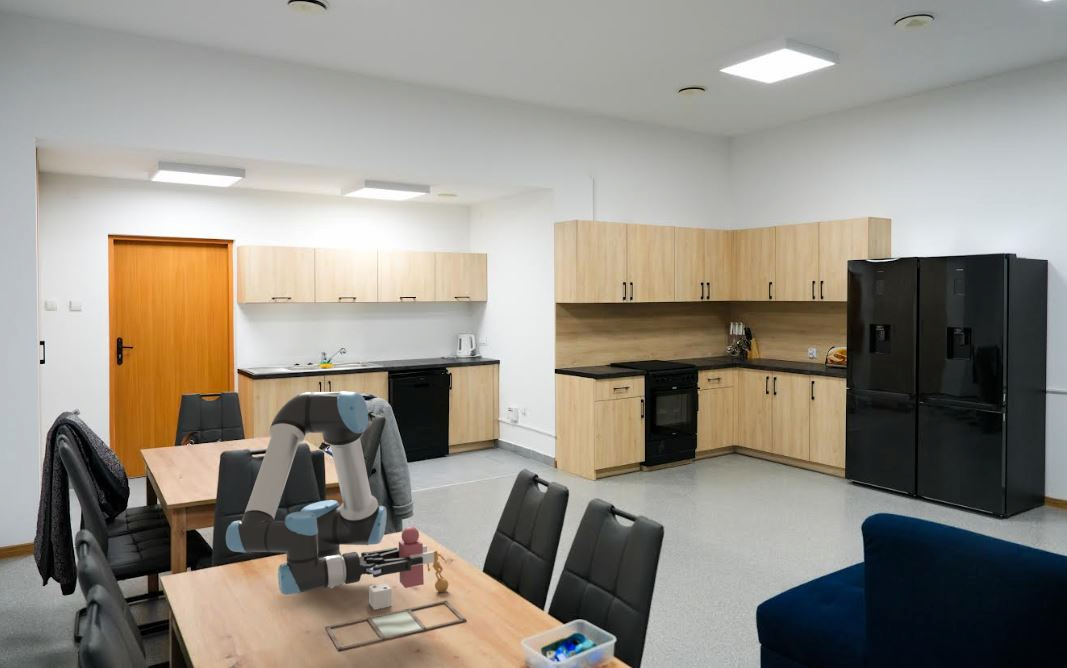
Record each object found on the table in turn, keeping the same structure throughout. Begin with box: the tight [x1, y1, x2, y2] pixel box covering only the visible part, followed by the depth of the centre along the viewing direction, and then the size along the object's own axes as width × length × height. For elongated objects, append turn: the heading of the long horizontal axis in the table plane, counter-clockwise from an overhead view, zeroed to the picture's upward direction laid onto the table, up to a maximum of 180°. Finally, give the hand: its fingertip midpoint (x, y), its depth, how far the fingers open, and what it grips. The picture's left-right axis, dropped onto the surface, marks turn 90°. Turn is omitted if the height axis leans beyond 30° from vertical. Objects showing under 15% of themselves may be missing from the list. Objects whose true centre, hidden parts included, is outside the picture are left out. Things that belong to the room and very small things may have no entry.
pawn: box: [398, 526, 425, 589], centre depth 197 cm, size 5×5×15 cm
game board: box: [324, 600, 467, 652], centre depth 197 cm, size 15×34×1 cm, turn 118°
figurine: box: [427, 550, 449, 593], centre depth 219 cm, size 8×6×12 cm
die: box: [368, 582, 392, 610], centre depth 210 cm, size 5×5×5 cm
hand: (429, 553), depth 199 cm, fingers closed on pawn, 5 cm apart
